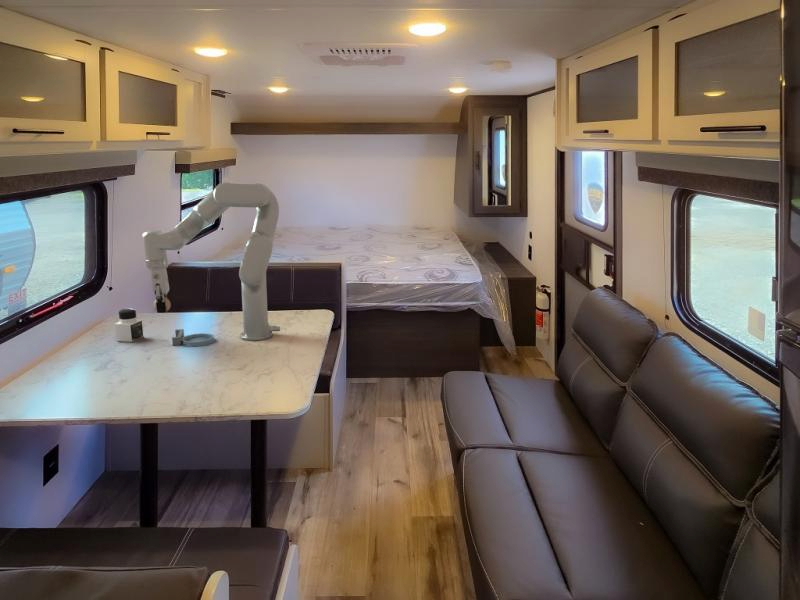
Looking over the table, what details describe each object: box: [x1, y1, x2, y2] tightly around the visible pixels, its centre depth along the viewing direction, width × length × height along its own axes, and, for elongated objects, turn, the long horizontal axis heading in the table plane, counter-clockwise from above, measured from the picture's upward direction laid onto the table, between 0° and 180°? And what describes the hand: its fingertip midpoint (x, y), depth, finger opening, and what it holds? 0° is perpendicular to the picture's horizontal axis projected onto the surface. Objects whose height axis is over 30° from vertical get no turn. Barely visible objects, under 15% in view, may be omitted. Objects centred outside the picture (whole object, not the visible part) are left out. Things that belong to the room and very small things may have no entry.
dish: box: [181, 332, 215, 347], centre depth 226 cm, size 12×12×2 cm
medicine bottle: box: [114, 307, 144, 343], centre depth 228 cm, size 7×7×12 cm
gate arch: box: [171, 328, 185, 346], centre depth 227 cm, size 3×12×3 cm, turn 14°
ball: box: [153, 297, 171, 312], centre depth 224 cm, size 6×6×6 cm
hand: (162, 309), depth 224 cm, fingers closed on ball, 5 cm apart
